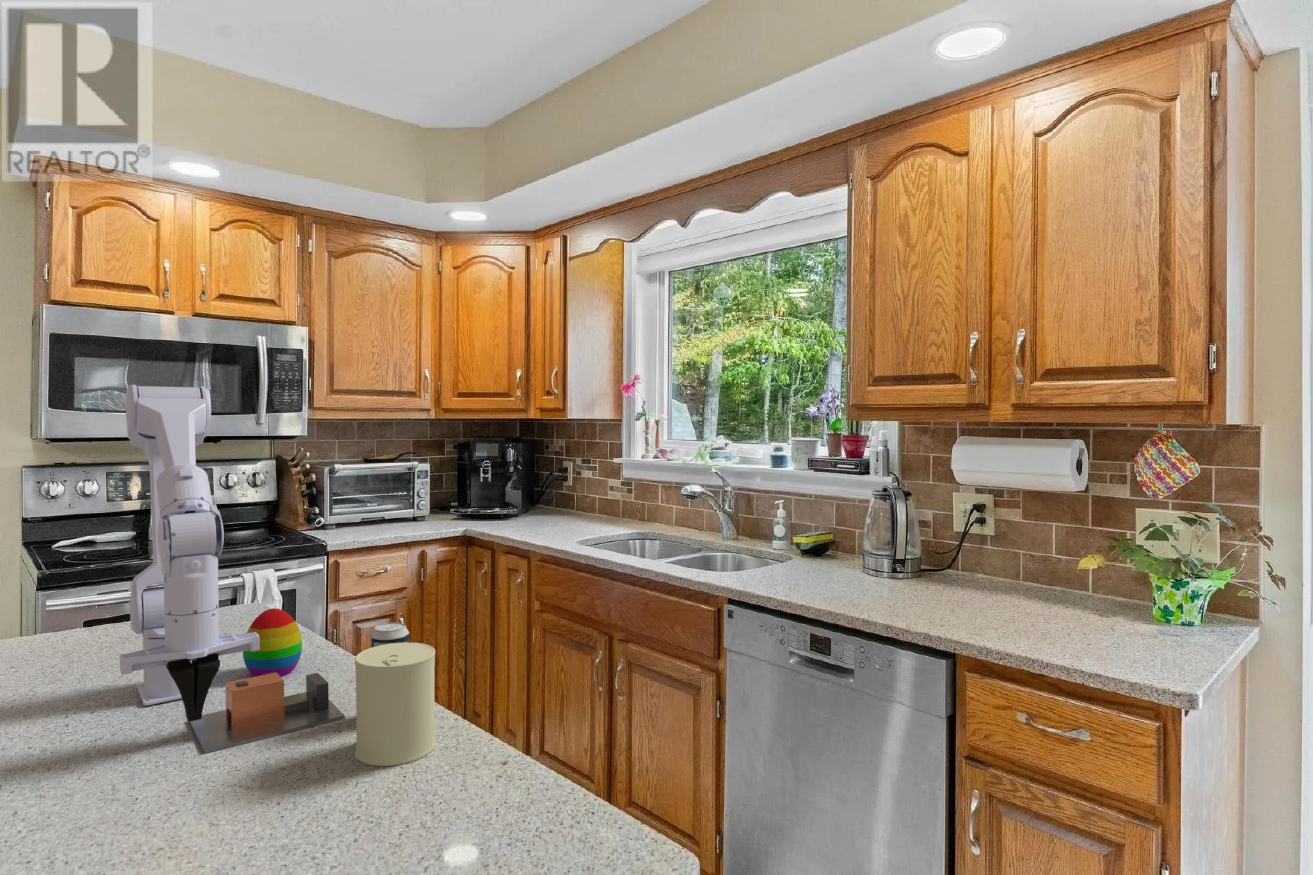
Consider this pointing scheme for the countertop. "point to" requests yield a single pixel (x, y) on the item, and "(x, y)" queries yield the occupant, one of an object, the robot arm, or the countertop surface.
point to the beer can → (389, 634)
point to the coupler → (297, 715)
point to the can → (395, 703)
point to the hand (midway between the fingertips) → (193, 718)
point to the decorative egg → (274, 644)
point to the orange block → (254, 700)
